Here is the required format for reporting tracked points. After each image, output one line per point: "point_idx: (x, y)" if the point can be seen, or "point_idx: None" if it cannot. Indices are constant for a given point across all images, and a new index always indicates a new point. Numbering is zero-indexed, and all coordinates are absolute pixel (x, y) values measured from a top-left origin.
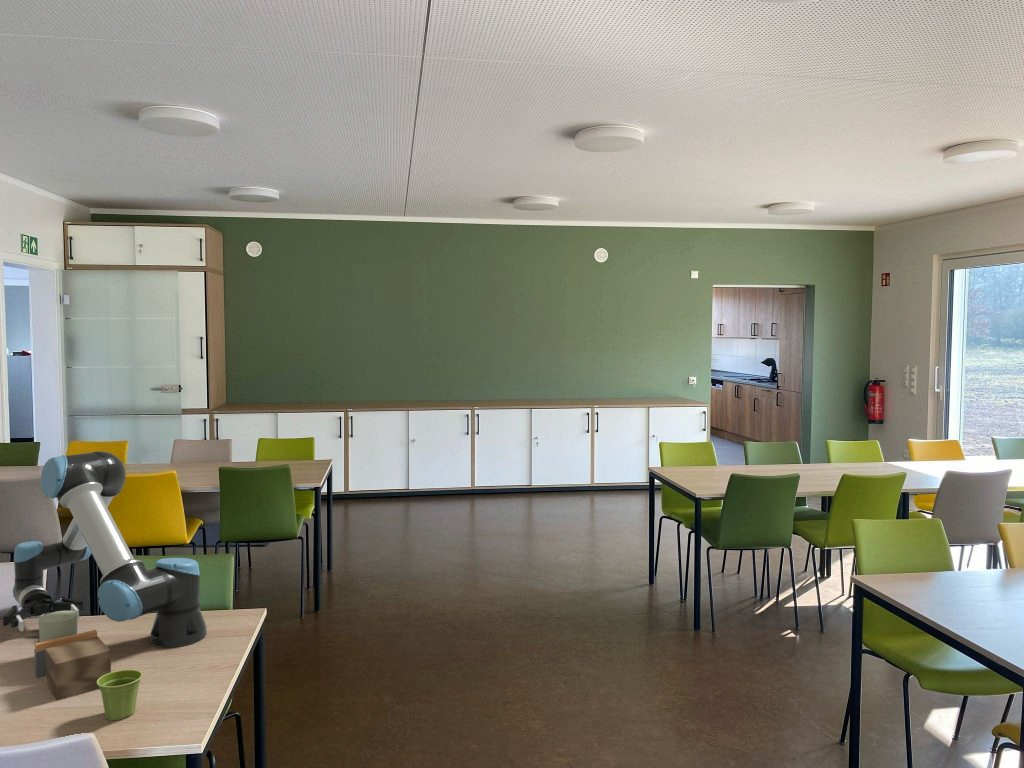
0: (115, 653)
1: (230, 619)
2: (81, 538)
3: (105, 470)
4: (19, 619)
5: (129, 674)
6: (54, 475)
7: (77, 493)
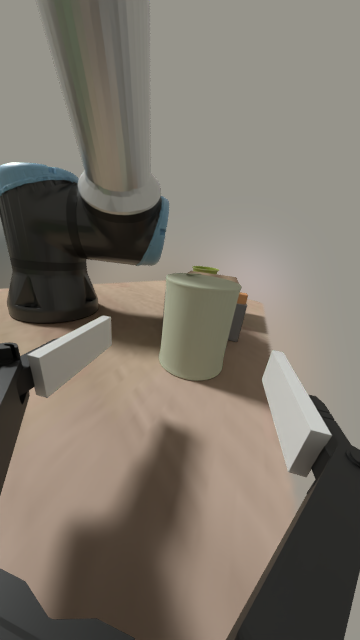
0: (134, 324)
1: None
2: None
3: None
4: (292, 371)
5: (196, 270)
6: None
7: None
